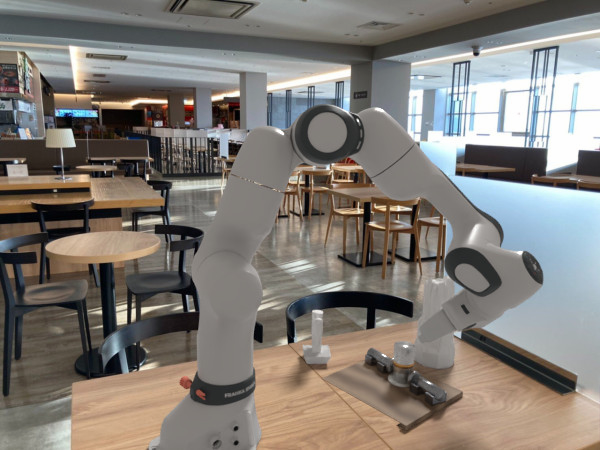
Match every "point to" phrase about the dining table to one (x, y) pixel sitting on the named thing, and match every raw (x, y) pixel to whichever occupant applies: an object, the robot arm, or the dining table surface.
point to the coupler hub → (403, 361)
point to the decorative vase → (435, 295)
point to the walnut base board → (389, 393)
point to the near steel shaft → (426, 389)
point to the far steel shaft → (379, 361)
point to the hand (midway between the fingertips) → (433, 334)
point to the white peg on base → (316, 342)
